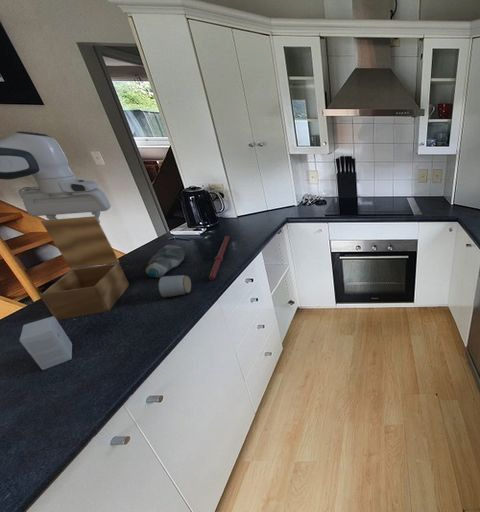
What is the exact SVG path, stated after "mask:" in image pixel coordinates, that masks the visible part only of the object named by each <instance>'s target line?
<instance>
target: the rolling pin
mask: <svg viewBox="0 0 480 512" xmlns="http://www.w3.org/2000/svg"><path fill="white" fill-rule="evenodd" d="M230 240H231V236H230V235H225V236H224V238H223V241H222V243H221V246H220V248H219V251H218V253H217V255H216V256H215V257H214V260H213V261H214V263H213V265H212V268H211V270H210V273H209V275H208V280H210V281H214V280H215V279H216V276H217V274H218V271H219V269H220V266H221V264H222V263H223V261H224V255H225V252H226V249H227V247H228V245H229V241H230Z"/></svg>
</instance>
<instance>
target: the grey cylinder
mask: <svg viewBox="0 0 480 512" xmlns="http://www.w3.org/2000/svg"><path fill="white" fill-rule="evenodd" d="M191 290H192V280H191V278H190V277H189V276H188V275H183V274H181V275H166V276H164V275H163V276H162V277H159V281H158V292H159V294H160V296H161V297H163V298H171V297H178V296H185V295H187V294H188V295H189V293H190V292H191Z"/></svg>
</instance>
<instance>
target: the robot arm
mask: <svg viewBox="0 0 480 512" xmlns="http://www.w3.org/2000/svg"><path fill="white" fill-rule="evenodd" d="M28 176H33V179H34V181H35V182H36V185H37V186H23V187H22V188H20V189H19V190H18V193H17V194H18V195H19V197H20V198H21V199H22V202H23V206H24V208H25V211H26V213H28V215H30V216H32V217H42V216H43V217H44V216H45V217H46V220H55V219H58V218H57V215H58V216H59V215H71V214H83V213H91V215H92V216H96V218H97V220H98V222H99V224H100V223H101V220H100V219H99V218H100V215H101V212H106V211H108V210H109V209H110V208H111V203H110V200H109V199H108V197H107V195H106V194H105V192H104V191H103V190H101V189H100V188H99V187H100V185H99V183H98V182H97V181H95V180H89V179H84V178H80V177H76V175H75V173H74V172H73V171H72V170H71V168H70V166H69V160H68V158H67V156H66V153H65V152H64V151H63V149H62V147H61V145H60V144H59V142H58V141H57V140H56V139H55V138H53V137H52V136H50V135H49V134H45V133H39V132H32V131H15V132H13V134H11V135H9V136H7V137H5V138H3V139H1V140H0V180H2V181H3V180H4V181H5V180H6V181H10V180H18V179H20V178H24V177H28Z"/></svg>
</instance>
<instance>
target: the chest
mask: <svg viewBox="0 0 480 512" xmlns="http://www.w3.org/2000/svg"><path fill="white" fill-rule="evenodd" d="M129 287H130V283H129V281H128V278H127V276H126V274H125V272H124V270H123V268H122V266H121V264H120V262H118V263H111V264H104V265H96V266H88V267H81V268H73V269H70V270H69V271H68V272H67V273H65V274H64V275H63V276H62V277H61V278H59V279H58V280H56V282H54V283H53V284H52V285H51V286H49V287H48V288H47V289H45V290H44V291H43V292H41V294H39V297H40V298H41V300H42V301H43V303H44V304H45V306H46V307H47V309H48V311H49V313H51V315H52V316H54V317H55V318H56V320H57V321H59V320H66V319H72V318H76V317H82V316H89V315H94V314H100V313H106V312H110V311H111V309H112V308H113V307H114V306H115V304H116V303H117V302H118V301H119V299H120V298H121V296H122V295H123V294H124V293H125V291H126V290H127V289H128V288H129Z"/></svg>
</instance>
